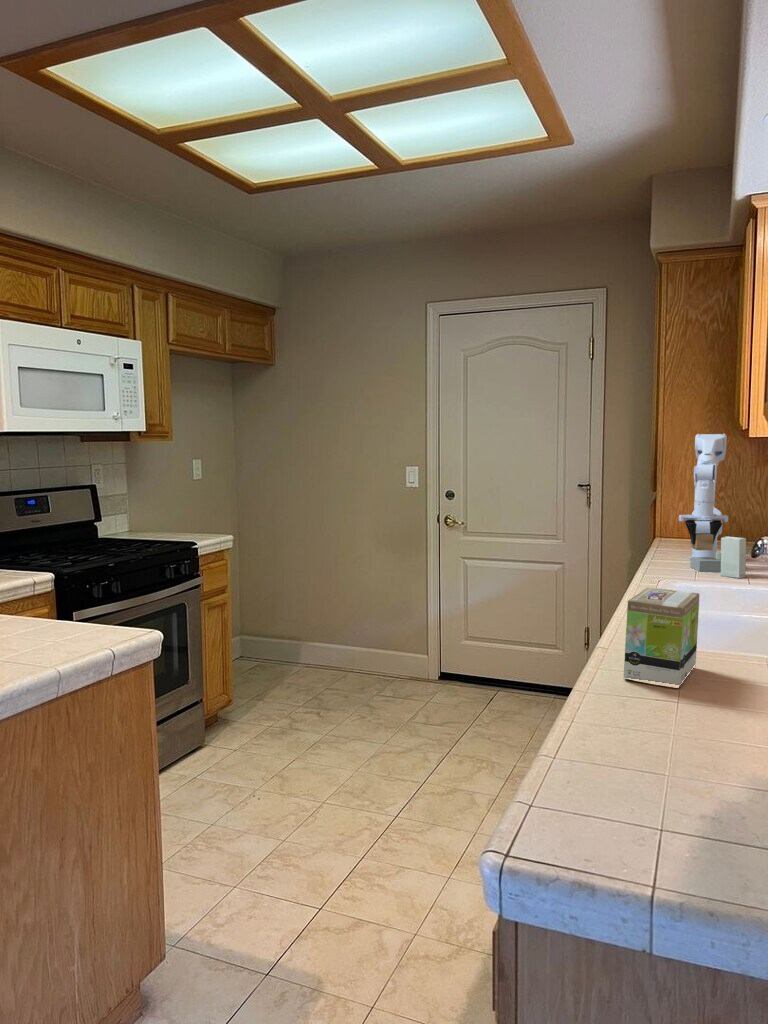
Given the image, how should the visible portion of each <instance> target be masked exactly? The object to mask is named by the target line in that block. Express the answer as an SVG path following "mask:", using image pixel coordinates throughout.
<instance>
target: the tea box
mask: <svg viewBox="0 0 768 1024" xmlns="http://www.w3.org/2000/svg"><path fill="white" fill-rule="evenodd" d="M626 610H627V611H626V612H627V613H626V627H625V645H624V663H623V664H624V665H623V679H624V678H631V679H639V680H648V681H655V682H662V683H669V684H675V685H680V684H681V683H682V681H683V680H684V679H685V677H686V676H687V674H688V673H689V672H690V671H691V669H692V668H693V666H694V665H695V664H697V649H698V647H697V646H698V628H699V611H700V593H698V592H691V591H682V590H673V589H665V588H664V589H663V588H657V587H656V588H655V587H646V588H645V589H643V590H641V591H640V592H638V593H637V594H636V595H634V596H633V597H631V598H630V599H628V600H627V608H626ZM695 666H696V665H695Z"/></svg>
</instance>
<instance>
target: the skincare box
mask: <svg viewBox="0 0 768 1024" xmlns="http://www.w3.org/2000/svg"><path fill="white" fill-rule="evenodd" d="M720 552H721V572H720V576H721V577H727V578H733V579H734V578H736V579H743V578H746V570H747V569H746V568H747V567H746V563H747V562H746V561H747V554H746V552H747V538H746V537H736V536H727V535H726V536H723V537H721V538H720Z"/></svg>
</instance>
